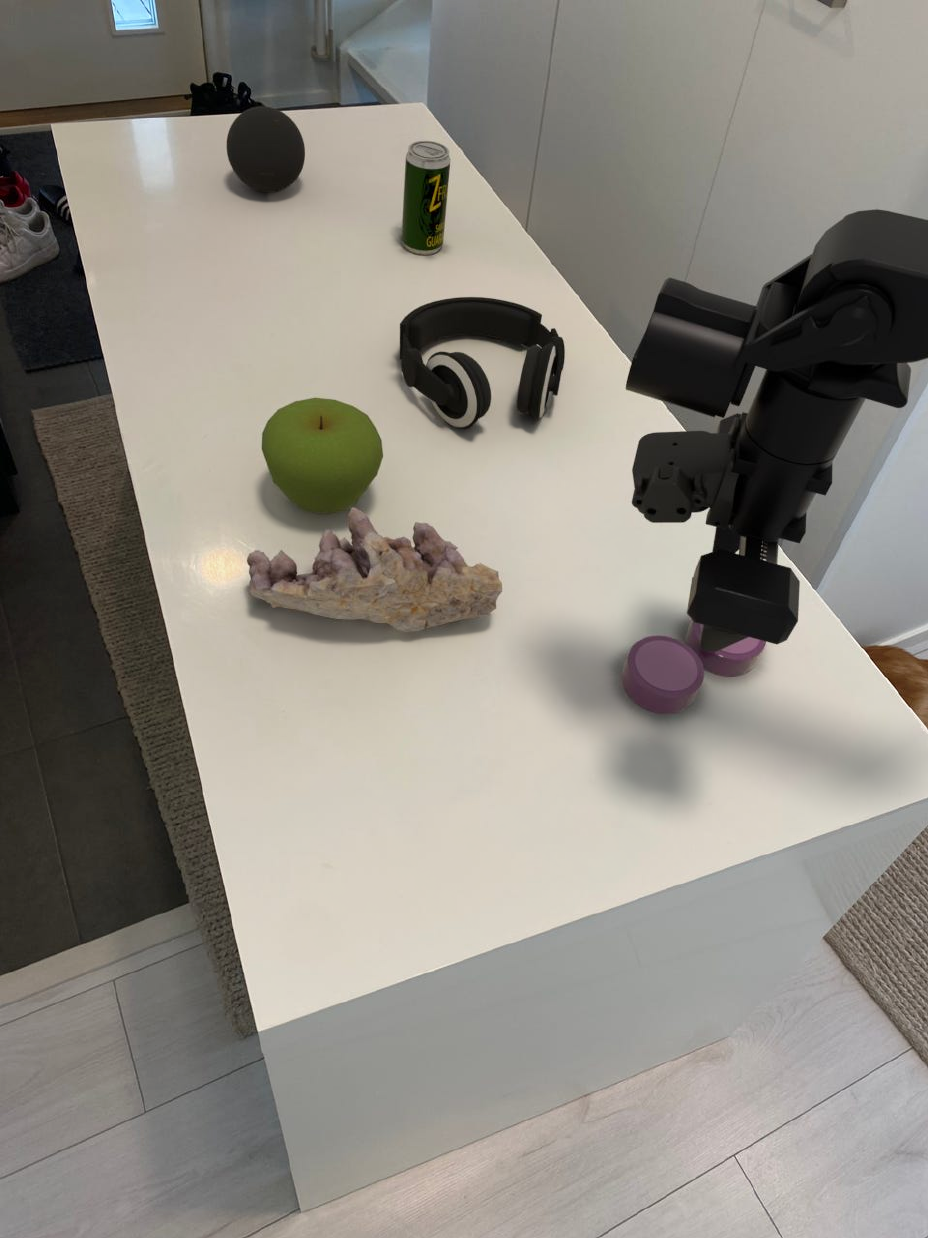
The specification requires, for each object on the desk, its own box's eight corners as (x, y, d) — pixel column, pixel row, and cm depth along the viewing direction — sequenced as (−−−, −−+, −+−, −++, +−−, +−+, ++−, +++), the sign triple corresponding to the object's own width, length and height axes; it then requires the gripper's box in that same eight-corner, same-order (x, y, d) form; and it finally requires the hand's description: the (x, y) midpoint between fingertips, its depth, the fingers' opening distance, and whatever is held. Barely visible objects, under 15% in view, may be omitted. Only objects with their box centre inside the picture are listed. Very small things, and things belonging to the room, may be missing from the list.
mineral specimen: (251, 631, 71) (258, 499, 70) (241, 616, 80) (247, 500, 79) (504, 640, 77) (513, 519, 76) (466, 625, 87) (474, 517, 86)
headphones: (432, 378, 89) (380, 286, 102) (428, 448, 94) (379, 352, 107) (603, 362, 93) (531, 276, 107) (589, 430, 99) (523, 340, 112)
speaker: (214, 187, 124) (206, 108, 117) (264, 163, 130) (259, 86, 122) (272, 214, 121) (267, 134, 114) (321, 188, 127) (320, 110, 119)
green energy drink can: (393, 246, 119) (397, 150, 110) (415, 229, 122) (421, 135, 113) (429, 260, 118) (436, 164, 109) (450, 243, 121) (459, 149, 112)
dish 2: (772, 657, 82) (782, 640, 80) (720, 688, 79) (730, 670, 77) (721, 609, 85) (729, 591, 83) (669, 636, 82) (677, 618, 80)
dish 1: (711, 693, 79) (720, 676, 77) (655, 726, 76) (664, 709, 74) (660, 641, 82) (668, 623, 80) (605, 671, 79) (612, 653, 77)
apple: (402, 502, 90) (408, 419, 82) (319, 555, 84) (317, 471, 76) (326, 445, 94) (325, 361, 86) (242, 492, 88) (233, 406, 81)
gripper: (678, 320, 63) (624, 492, 75) (638, 499, 51) (582, 670, 63) (843, 360, 62) (761, 528, 74) (842, 552, 50) (745, 715, 62)
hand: (712, 602), depth 68 cm, fingers open, 9 cm apart
